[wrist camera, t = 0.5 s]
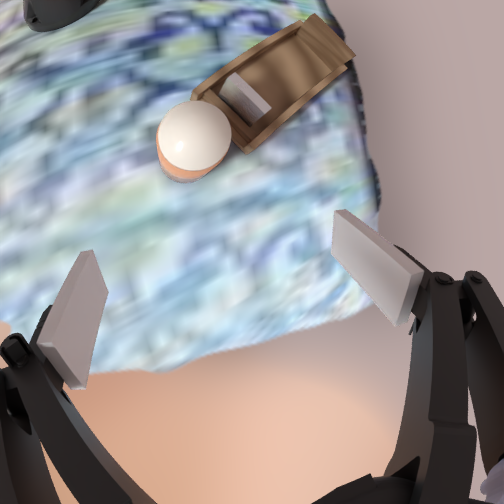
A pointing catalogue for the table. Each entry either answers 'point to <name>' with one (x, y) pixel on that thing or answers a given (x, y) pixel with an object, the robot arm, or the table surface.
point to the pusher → (243, 99)
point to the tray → (279, 76)
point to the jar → (192, 140)
